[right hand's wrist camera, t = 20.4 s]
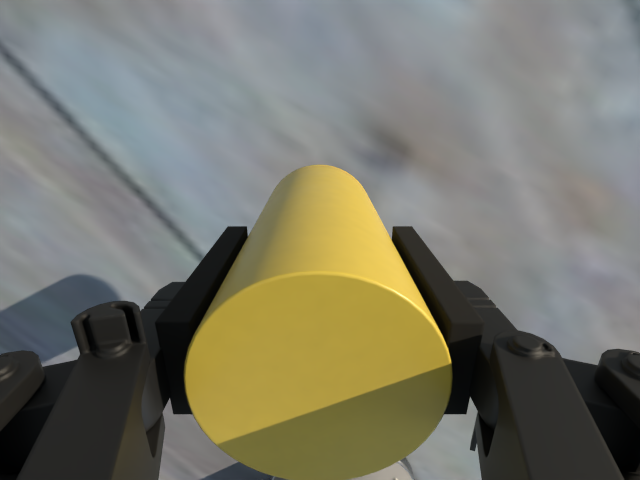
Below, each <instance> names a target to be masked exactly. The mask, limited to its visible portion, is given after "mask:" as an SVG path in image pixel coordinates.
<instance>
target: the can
mask: <svg viewBox="0 0 640 480" xmlns="http://www.w3.org/2000/svg"><path fill="white" fill-rule="evenodd" d="M452 378H453V375H452V362H451V358H450V354H449V350H448V347H447V345H446V343H445V340H444V338H443V336H442V334H441V332H440V330H439V328H438V326H437V324H436V322H435V321H434V319H433V317H432V315H431V313H430V311H429V309H428V307H427V306H426V304H425V302H424V300H423V298H422V296H421V294H420V293H419V291H418V289H417V287H416V285H415V283H414V281H413V279H412V278H411V276H410V274H409V272H408V270H407V268H406V266H405V264H404V263H403V261H402V259H401V257H400V255H399V253H398V251H397V250H396V248H395V246H394V244H393V242H392V240H391V238H390V236H389V235H388V233H387V231H386V229H385V227H384V225H383V223H382V221H381V220H380V218H379V216H378V214H377V212H376V210H375V208H374V206H373V205H372V203H371V201H370V199H369V197H368V195H367V193H366V192H365V190H364V188H363V187H362V185H361V184H360V183H359V182H358V181H357V180H356V179H355V178H354V177H353V176H352V175H350V174H349V173H347V172H345V171H343V170H341V169H339V168H336V167H333V166H328V165H311V166H306V167H303V168H300V169H297V170H295V171H293V172H291V173H290V174H289V175H287V176H286V177H285V178H284V179H282V180H281V181H280V183H279V184H278V185H277V186H276V188H275V189H274V191H273V193H272V195H271V196H270V198H269V200H268V202H267V204H266V205H265V207H264V209H263V211H262V213H261V214H260V216H259V218H258V220H257V222H256V223H255V225H254V227H253V229H252V231H251V232H250V234H249V236H248V238H247V240H246V242H245V243H244V245H243V247H242V249H241V251H240V252H239V254H238V256H237V258H236V260H235V261H234V263H233V265H232V267H231V269H230V270H229V272H228V274H227V276H226V278H225V279H224V281H223V283H222V285H221V287H220V288H219V290H218V292H217V294H216V296H215V298H214V299H213V301H212V303H211V305H210V307H209V308H208V310H207V312H206V314H205V316H204V317H203V319H202V321H201V323H200V325H199V326H198V328H197V330H196V332H195V334H194V336H193V338H192V340H191V343H190V345H189V347H188V351H187V355H186V359H185V364H184V386H185V393H186V397H187V401H188V405H189V407H190V409H191V412H192V414H193V416H194V418H195V420H196V421H197V423H198V424H199V426H200V428H201V429H202V430H203V432H204V433H205V434H206V435H207V436H208V438H209V439H210V440H211V441H212V442H213V443H214V444H215V445H217V446H218V447H219V448H220V449H221V450H222V451H224V452H225V453H226V454H228V455H229V456H230V457H232V458H233V459H235V460H237V461H239V462H240V463H242V464H244V465H246V466H248V467H250V468H252V469H255V470H257V471H259V472H262V473H265V474H268V475H271V476H275V477H279V478H284V479H288V480H349V479H353V478H357V477H362V476H365V475H368V474H371V473H374V472H377V471H380V470H382V469H384V468H387V467H389V466H391V465H393V464H395V463H396V462H398V461H400V460H402V459H403V458H405V457H406V456H408V455H409V454H410V453H412V452H413V451H414V450H416V449H417V448H418V447H419V446H420V445H421V444H422V443H423V442H424V441H425V440H426V439H427V438H428V437H429V436H430V435H431V433H432V432H433V431H434V430H435V428H436V427H437V425H438V424H439V422H440V420H441V419H442V417H443V415H444V412H445V410H446V408H447V406H448V402H449V398H450V395H451V389H452Z"/></svg>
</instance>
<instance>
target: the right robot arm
mask: <svg viewBox="0 0 640 480" xmlns="http://www.w3.org/2000/svg"><path fill="white" fill-rule="evenodd" d="M247 238H248V234H247V227H227V228H226V230H225V231H224V232H223V234H222V235H221V236H220V238H219V239H218V240H217V241H216V243H215V244H214V245H213V247H212V248H211V249H210V251H209V252H208V253H207V255H206V256H205V257H204V258H203V260H202V261H201V262H200V264H199V265H198V266H197V268H196V269H195V270H194V272H193V273H192V274H191V276H190V277H189V278H188V279H187V281H186V282H172V283H170V284H168V285H167V286H165V287H163V288H162V289H160V290H159V291H158V292H157V293H156V294H155V295H154V296H153V298H152V299H151V301H149V302H148V303H147V304H146V306H145V307H144V309H142V310H141V311H140V308H139V306H138V305H137V304H135V303H134V302H128V301H113V302H108V303H104V304H100V305H97V306H94V307H92V308H89V309H87V310H85V311H84V312H82V313H80V314H79V315H77V316H76V317H75V318H74V319H73V320H72V321H71V325H72V328H73V332H74V335H75V338H76V341H77V345H78V348H79V351H80V356H79V358H78V360H74V361H69V362H65V363H60V364H55V365H50V366H45V367H42V365H41V362H40V359H39V356H38V355H37V354H35V353H34V352H31V351H16V352H8V353H4V354H1V355H0V480H158V478H159V470H160V462H161V455H162V447H163V439H164V432H165V423H164V417H163V413H162V412H163V410H164V408H165V406H166V404H167V402H168V400H169V398H170V400H171V404H172V409H173V414H192V412H191V409H190V407H189V405H188V401H187V397H186V393H185V386H184V364H185V359H186V355H187V351H188V347H189V345H190V343H191V340H192V338H193V336H194V334H195V332H196V330H197V328H198V326H199V325H200V323H201V321H202V319H203V317H204V316H205V314H206V312H207V310H208V308H209V307H210V305H211V303H212V301H213V299H214V298H215V296H216V294H217V292H218V290H219V288H220V287H221V285H222V283H223V281H224V279H225V278H226V276H227V274H228V272H229V270H230V269H231V267H232V265H233V263H234V261H235V260H236V258H237V256H238V254H239V252H240V251H241V249H242V247H243V245H244V243H245V242H246V240H247ZM392 242H393V244H394V246H395V248H396V250H397V251H398V253H399V255H400V257H401V259H402V261H403V263H404V264H405V266H406V268H407V270H408V272H409V274H410V276H411V278H412V279H413V281H414V283H415V285H416V287H417V289H418V291H419V293H420V294H421V296H422V298H423V300H424V302H425V304H426V306H427V307H428V309H429V311H430V313H431V315H432V317H433V319H434V321H435V322H436V324H437V326H438V328H439V330H440V332H441V334H442V336H443V338H444V340H445V343H446V345H447V347H448V350H449V354H450V358H451V362H452V375H453V378H452V389H451V395H450V398H449V402H448V406H447V408H446V410H445V412H444V414H466V413H467V408H468V403H469V398H470V397H471V399H472V401H473V403H474V405H475V406H476V408H477V410H478V413H477V417H476V422H475V426H474V431H473V435H472V440H471V446H470V450H473V451H475V448H476V444H477V446H478V454H479V461H480V469H481V477H482V480H640V353H639V352H635V351H629V350H622V349H612V350H607V351H605V352H604V353H603V354H602V356H601V358H600V361H599V364H598V365H593V364H588V363H583V362H578V361H573V360H568V359H564V358H562V357H561V355H560V353H559V352H558V351H557V350H556V348H555V347H554V346H553V345H551V344H550V343H548V342H547V341H546V340H544V339H542V338H540V337H538V336H535V335H533V334H530V333H526V332H523V331H518V330H517V329H516V328H515V327H514V326H513V325H512V324H511V322H510V321H509V320H508V319H507V318H506V317H505V316H504V314H503V313H502V312H501V311H500V310H499V309H498V308H496V305H495V304H494V303H493V302H492V301H491V300H489V297H488V296H487V295H486V294H485V293H484V292H483V291H482V289H480V288H479V287H477V286H475V285H474V284H472V283H470V282H469V281H453V280H452V278H451V277H450V276H449V275H448V273H447V272H446V271H445V269H444V268H443V267H442V265H441V264H440V263H439V261H438V260H437V259H436V257H435V256H434V255H433V254H432V252H431V251H430V250H429V248H428V247H427V246H426V244H425V243H424V242H423V240H422V239H421V238H420V237H419V235H418V234H417V233H416V231H415V230H414V229H413V227H393V232H392ZM270 480H288V479H284V478H279V477H275V476H270ZM349 480H414V476H413V472H412V468H411V466H410V464H409V462H408V461H407V459H406V458H403V459H402V460H400V461H398V462H396V463H395V464H393V465H391V466H389V467H387V468H384V469H382V470H380V471H377V472H374V473H371V474H368V475H365V476H362V477H357V478H353V479H349Z"/></svg>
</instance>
